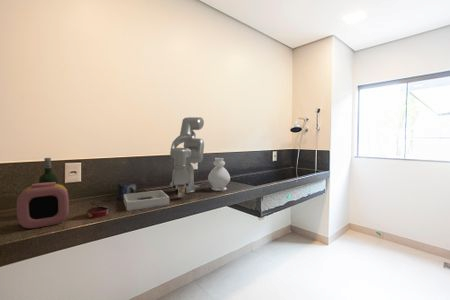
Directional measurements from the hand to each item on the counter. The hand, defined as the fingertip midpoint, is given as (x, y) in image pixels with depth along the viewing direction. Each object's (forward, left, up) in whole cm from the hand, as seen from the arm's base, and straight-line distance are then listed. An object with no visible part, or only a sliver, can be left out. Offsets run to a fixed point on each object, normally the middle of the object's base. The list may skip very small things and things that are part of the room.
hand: (180, 193), depth 152 cm
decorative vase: (-36, -13, -3) cm, 39 cm away
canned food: (+49, +10, -4) cm, 50 cm away
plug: (0, 0, -1) cm, 1 cm away
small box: (+32, -18, -4) cm, 37 cm away
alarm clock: (+71, +12, -4) cm, 72 cm away
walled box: (+23, +1, -3) cm, 23 cm away
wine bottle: (+72, -5, -3) cm, 72 cm away
